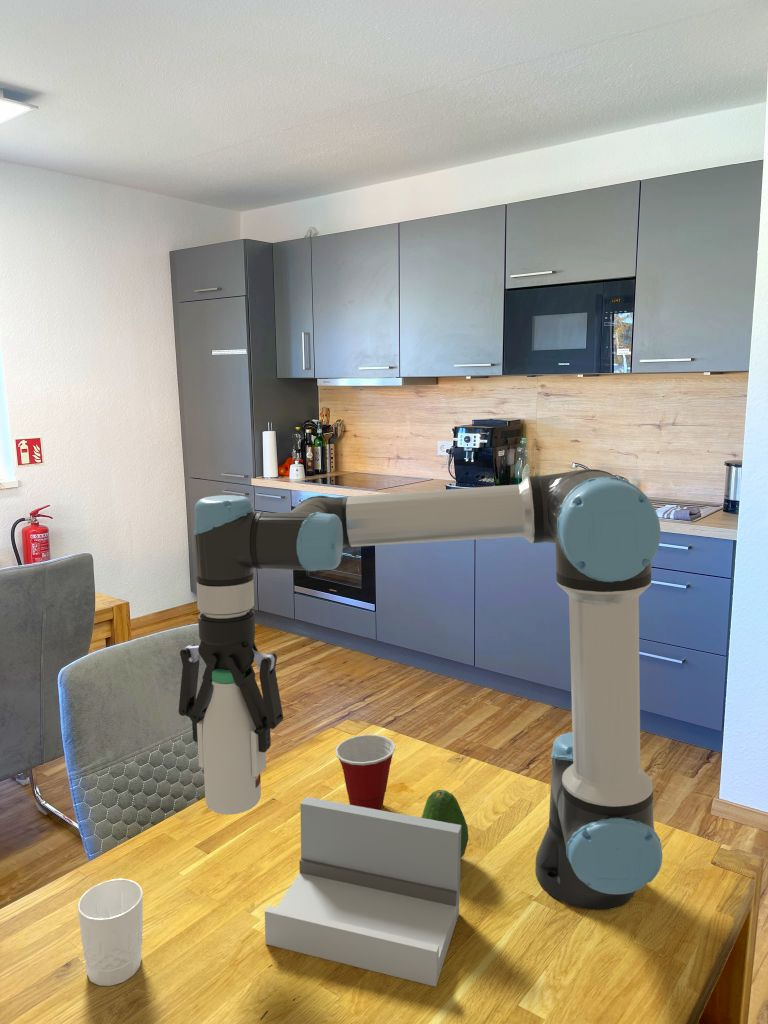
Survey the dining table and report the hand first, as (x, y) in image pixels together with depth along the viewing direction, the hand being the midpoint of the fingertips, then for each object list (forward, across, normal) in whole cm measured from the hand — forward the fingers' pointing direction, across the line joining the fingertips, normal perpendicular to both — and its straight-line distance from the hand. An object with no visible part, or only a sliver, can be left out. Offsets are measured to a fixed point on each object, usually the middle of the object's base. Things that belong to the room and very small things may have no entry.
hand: (232, 766), depth 105 cm
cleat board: (+23, -19, -3) cm, 30 cm away
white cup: (+23, +10, +14) cm, 29 cm away
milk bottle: (+5, 0, 0) cm, 5 cm away
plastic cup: (+23, -9, -32) cm, 40 cm away
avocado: (+23, -26, -21) cm, 40 cm away
